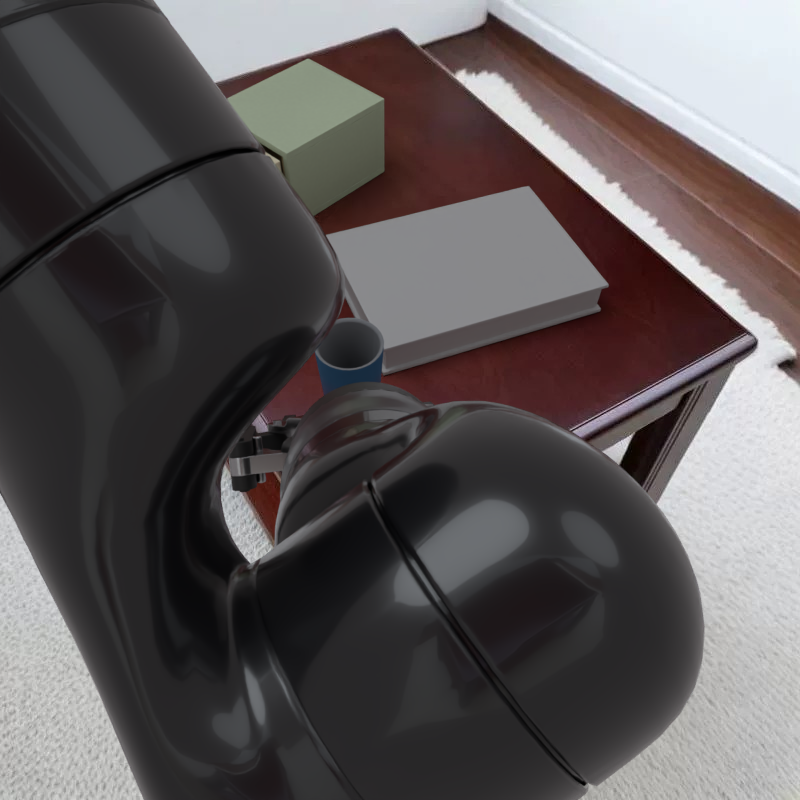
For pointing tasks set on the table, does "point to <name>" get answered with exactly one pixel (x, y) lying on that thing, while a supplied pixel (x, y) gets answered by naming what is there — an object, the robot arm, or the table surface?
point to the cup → (350, 354)
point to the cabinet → (317, 130)
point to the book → (464, 276)
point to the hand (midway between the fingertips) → (359, 424)
